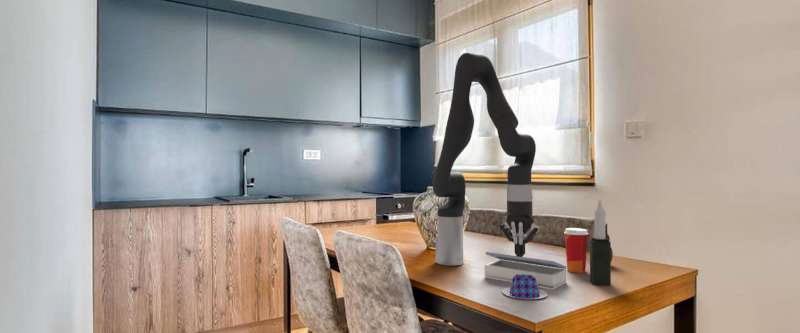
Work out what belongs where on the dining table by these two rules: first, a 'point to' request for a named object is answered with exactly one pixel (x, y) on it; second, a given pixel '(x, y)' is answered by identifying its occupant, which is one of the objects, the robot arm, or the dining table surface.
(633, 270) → the dining table surface
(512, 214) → the robot arm
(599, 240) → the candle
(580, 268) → the paper cup
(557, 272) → the grey lidded box
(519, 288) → the pudding
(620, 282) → the dining table surface
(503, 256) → the lid
